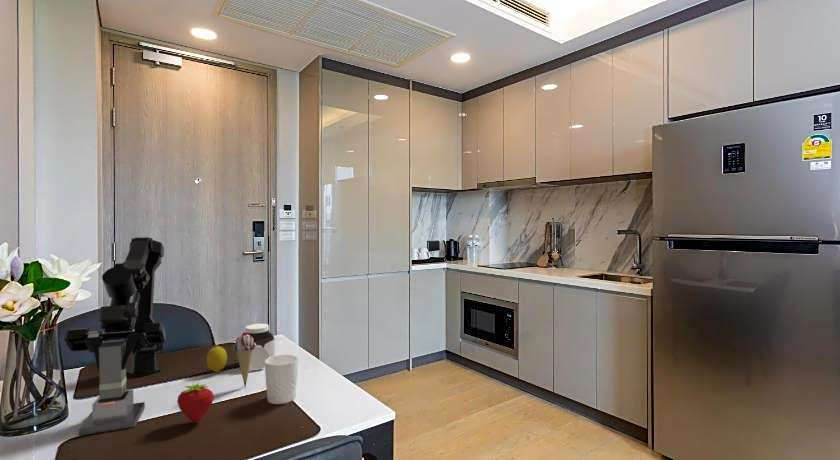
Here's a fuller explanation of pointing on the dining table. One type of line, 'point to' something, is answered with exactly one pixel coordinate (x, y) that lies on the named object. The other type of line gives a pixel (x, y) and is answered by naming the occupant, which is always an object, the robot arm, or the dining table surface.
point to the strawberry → (195, 401)
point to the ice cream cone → (244, 353)
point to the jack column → (112, 370)
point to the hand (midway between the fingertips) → (111, 370)
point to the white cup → (281, 378)
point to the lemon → (216, 359)
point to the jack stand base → (112, 414)
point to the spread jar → (261, 345)
